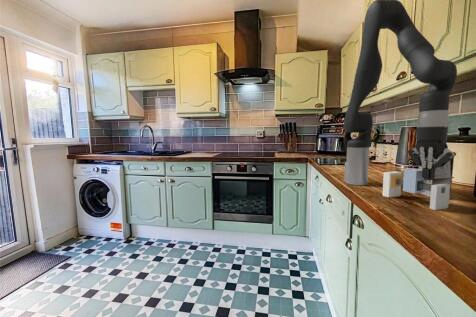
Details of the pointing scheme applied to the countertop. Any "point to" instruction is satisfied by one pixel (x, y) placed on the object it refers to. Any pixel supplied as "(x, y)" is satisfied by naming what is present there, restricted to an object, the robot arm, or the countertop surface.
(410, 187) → the notched grey block
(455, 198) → the countertop surface
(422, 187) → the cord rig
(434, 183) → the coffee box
